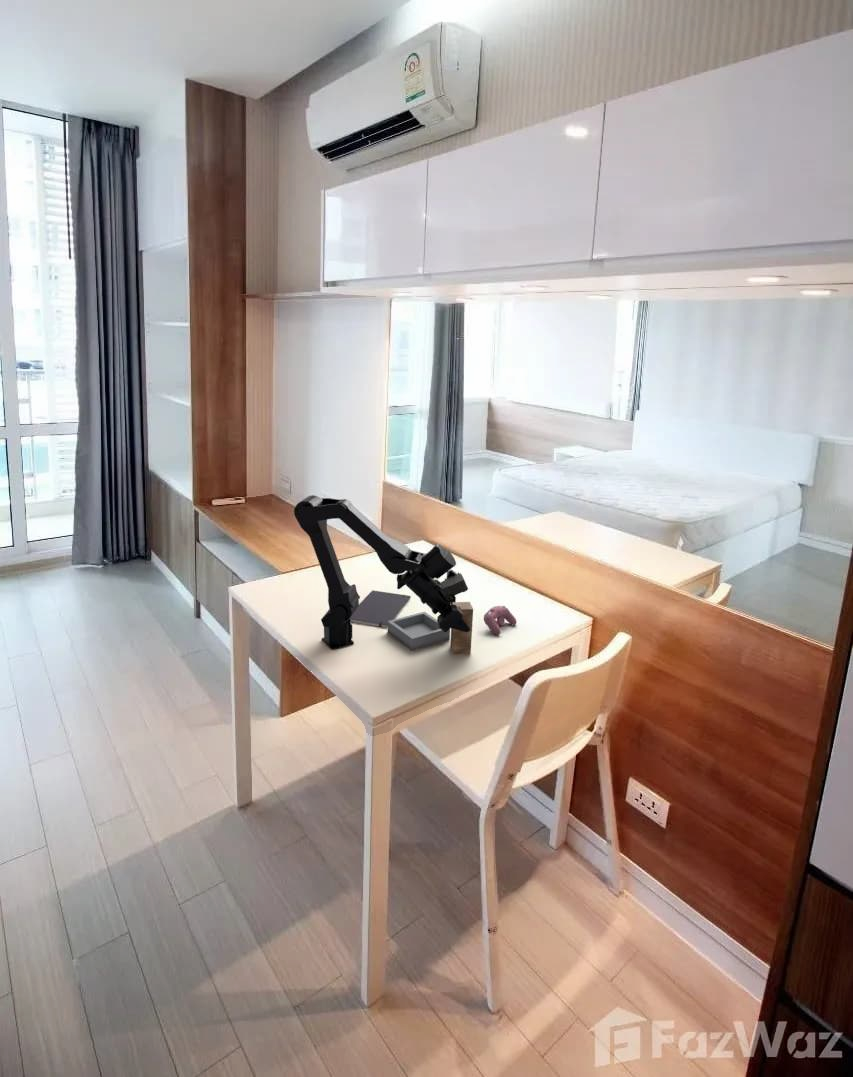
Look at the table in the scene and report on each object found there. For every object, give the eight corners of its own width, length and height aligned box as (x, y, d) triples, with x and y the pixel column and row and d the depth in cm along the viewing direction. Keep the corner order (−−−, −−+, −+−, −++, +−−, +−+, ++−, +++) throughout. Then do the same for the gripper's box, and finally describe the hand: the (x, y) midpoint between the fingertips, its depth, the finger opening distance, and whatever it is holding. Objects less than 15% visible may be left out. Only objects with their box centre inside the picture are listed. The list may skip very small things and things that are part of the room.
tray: (411, 651, 166) (412, 638, 165) (387, 633, 176) (387, 621, 175) (449, 639, 173) (450, 627, 172) (424, 623, 182) (424, 611, 181)
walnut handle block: (453, 654, 165) (455, 609, 161) (450, 646, 170) (452, 602, 166) (470, 653, 166) (473, 609, 162) (467, 645, 170) (469, 601, 166)
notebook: (372, 594, 201) (345, 623, 182) (372, 590, 201) (345, 618, 181) (411, 600, 198) (388, 630, 179) (411, 595, 198) (388, 624, 178)
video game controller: (506, 626, 186) (498, 603, 186) (518, 623, 183) (510, 600, 183) (486, 637, 178) (478, 613, 178) (499, 635, 175) (491, 611, 175)
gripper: (455, 579, 151) (498, 621, 156) (443, 553, 169) (482, 591, 174) (421, 611, 153) (465, 652, 157) (412, 581, 170) (451, 619, 175)
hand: (466, 626), depth 166 cm, fingers closed on walnut handle block, 4 cm apart
